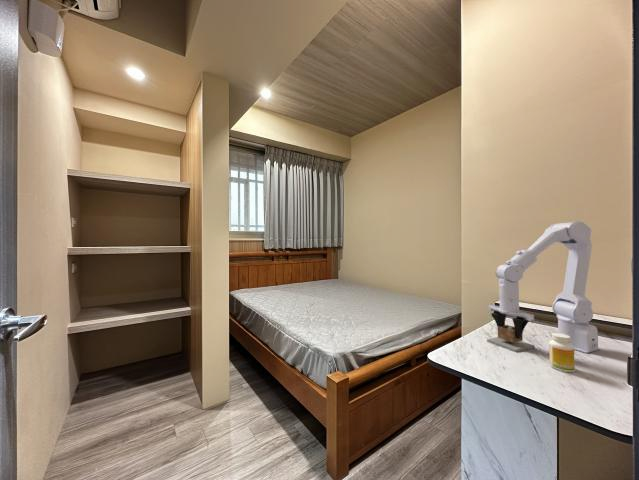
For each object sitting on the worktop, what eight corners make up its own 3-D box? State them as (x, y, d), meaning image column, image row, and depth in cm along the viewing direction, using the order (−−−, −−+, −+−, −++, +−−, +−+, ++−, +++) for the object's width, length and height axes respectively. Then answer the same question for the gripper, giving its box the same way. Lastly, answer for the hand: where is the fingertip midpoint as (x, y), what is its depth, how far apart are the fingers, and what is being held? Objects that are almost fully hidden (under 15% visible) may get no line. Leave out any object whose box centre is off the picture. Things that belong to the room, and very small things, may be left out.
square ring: (522, 340, 90) (522, 329, 90) (512, 342, 88) (512, 331, 88) (507, 335, 95) (507, 324, 95) (497, 337, 93) (497, 326, 93)
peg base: (534, 347, 89) (534, 328, 89) (515, 352, 85) (515, 332, 85) (505, 337, 98) (504, 320, 98) (487, 341, 95) (486, 323, 95)
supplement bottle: (580, 373, 71) (579, 339, 71) (557, 372, 72) (557, 338, 72) (565, 364, 77) (564, 332, 77) (545, 363, 78) (544, 331, 78)
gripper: (482, 294, 97) (483, 330, 97) (523, 303, 84) (524, 344, 84) (494, 293, 100) (495, 327, 100) (537, 301, 86) (538, 340, 86)
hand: (509, 335), depth 92 cm, fingers closed on square ring, 5 cm apart
